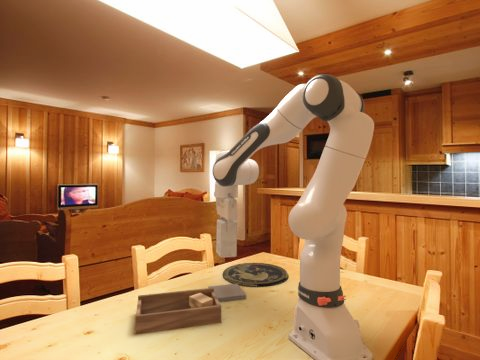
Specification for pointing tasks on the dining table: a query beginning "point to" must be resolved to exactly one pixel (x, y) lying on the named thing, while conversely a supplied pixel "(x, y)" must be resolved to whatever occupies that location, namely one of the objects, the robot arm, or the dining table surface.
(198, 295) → the offcut upper
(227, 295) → the plate
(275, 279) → the decorative plate
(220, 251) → the small box
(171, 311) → the tray
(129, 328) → the dining table surface
